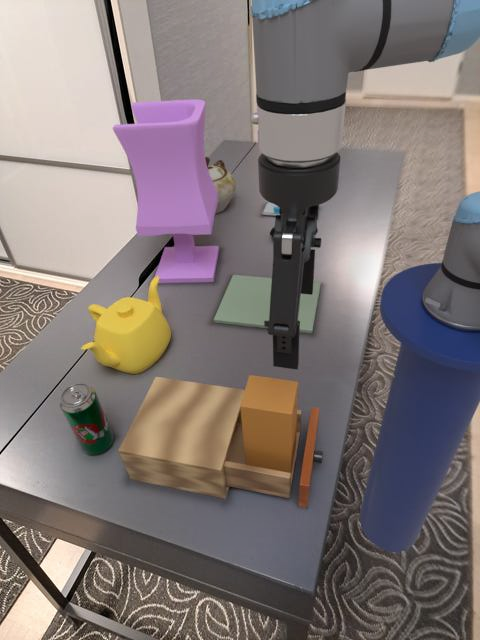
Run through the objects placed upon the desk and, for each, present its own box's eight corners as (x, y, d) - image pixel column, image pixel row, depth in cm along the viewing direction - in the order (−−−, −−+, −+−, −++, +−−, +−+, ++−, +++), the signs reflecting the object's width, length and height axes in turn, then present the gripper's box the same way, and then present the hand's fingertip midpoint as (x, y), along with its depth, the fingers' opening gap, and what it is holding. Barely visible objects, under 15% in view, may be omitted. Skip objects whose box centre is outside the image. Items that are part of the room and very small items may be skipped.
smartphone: (266, 201, 128) (318, 204, 124) (266, 204, 128) (318, 207, 125) (260, 212, 122) (315, 216, 119) (261, 215, 123) (315, 219, 119)
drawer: (325, 432, 68) (327, 409, 64) (316, 510, 59) (318, 488, 55) (232, 417, 71) (230, 394, 67) (211, 488, 62) (206, 466, 58)
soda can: (97, 425, 73) (75, 376, 65) (121, 436, 71) (101, 387, 63) (75, 449, 69) (49, 401, 62) (100, 461, 67) (76, 413, 60)
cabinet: (248, 420, 72) (245, 389, 67) (226, 499, 62) (221, 470, 57) (164, 406, 75) (155, 376, 70) (130, 479, 65) (117, 450, 60)
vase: (162, 249, 113) (132, 102, 90) (223, 247, 112) (207, 98, 89) (149, 285, 101) (111, 127, 79) (217, 284, 100) (197, 123, 77)
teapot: (132, 305, 96) (120, 264, 89) (193, 323, 90) (186, 280, 83) (61, 375, 82) (40, 332, 75) (128, 401, 76) (112, 357, 69)
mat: (320, 285, 97) (320, 282, 97) (312, 333, 86) (312, 330, 85) (233, 277, 102) (233, 274, 101) (213, 322, 90) (213, 319, 90)
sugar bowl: (220, 227, 120) (214, 173, 110) (172, 219, 125) (163, 167, 115) (248, 196, 133) (245, 146, 123) (204, 190, 138) (198, 141, 128)
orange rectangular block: (296, 444, 65) (298, 381, 56) (290, 475, 62) (292, 414, 52) (253, 436, 67) (249, 374, 58) (246, 467, 63) (239, 405, 54)
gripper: (281, 110, 50) (281, 266, 64) (223, 214, 32) (241, 400, 46) (349, 110, 48) (334, 270, 62) (327, 220, 30) (313, 411, 44)
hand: (294, 325), depth 54 cm, fingers open, 13 cm apart
